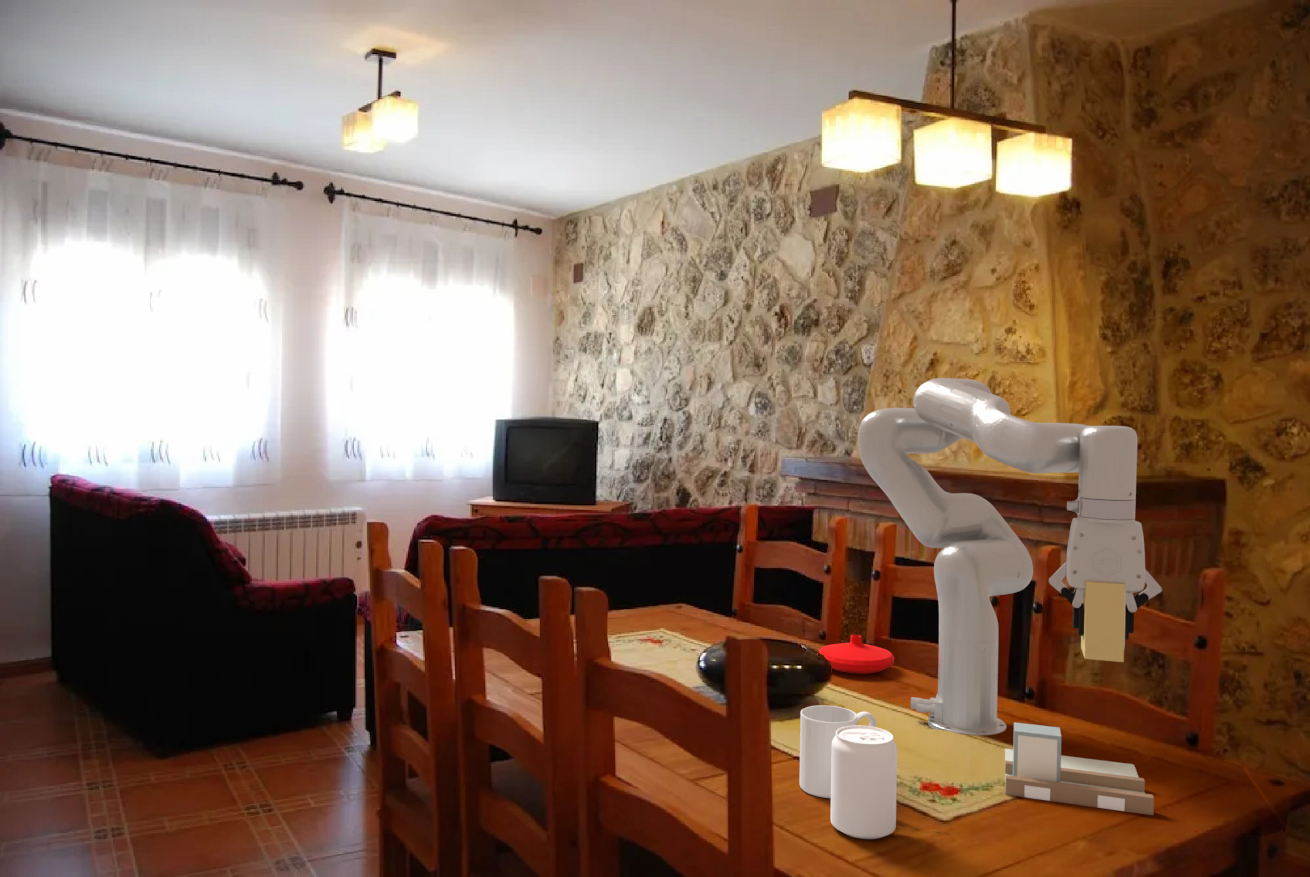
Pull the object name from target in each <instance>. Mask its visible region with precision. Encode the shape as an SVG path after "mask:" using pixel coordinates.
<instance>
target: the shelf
mask: <svg viewBox="0 0 1310 877" xmlns="http://www.w3.org/2000/svg"><path fill="white" fill-rule="evenodd" d="M1004 778H1005V779H1004V782H1005V787H1004V788H1005V792H1004V794H1005V795H1007V796H1013V797H1021V798H1027V799H1034V800H1042V801H1048V802H1057V803H1064V804H1070V805H1077V806H1085V807H1093V808H1099V809H1106V810H1112V811H1121V812H1127V813H1134V814H1142V815H1147V816H1154V812H1155V810H1154V808H1155V802H1154V801H1155V797H1154V795H1153V794H1150V793H1146V792H1145V790H1146V789H1145V787H1146V781H1145V779H1144V778H1143V777H1139V775H1138V772H1137V769H1136V767H1135V764H1133V763H1125V762H1124V763H1123V762H1118V761H1111V760H1110V761H1109V760H1101V759H1093V758H1084V757H1078V756H1077V757H1075V756H1070V755H1063V754H1061V778H1060V782H1054V781H1046V780H1039V779H1032V778H1024V777H1017V776H1013V748H1012V749H1011V748H1004Z"/></svg>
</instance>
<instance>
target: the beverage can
mask: <svg viewBox="0 0 1310 877" xmlns="http://www.w3.org/2000/svg"><path fill="white" fill-rule="evenodd" d="M897 775H898V746H897V744H896V742H895V741H894V735H893V734H892V733H891V732H890V731H888V730H887V729H884V728H880V727H877V726H876V727H872V726H869V725H862V724H861V725H860V724H859V725H858V724H857V725H852V726H845V727H841V728H839V729H838V730H837V731H836V736H835V737H834V738H833V740H832V756H831V798H830V823H831V825H832V826H833V827H834V828H835V829H836V830H838V831H839V832H842V833H843V834H845V835H847V836H849V837H852V838H856V839H861V840H875V839H881V838H883V837H886V836H889V835H891V834H892V833H894V831H895V830H896V826H897V789H898V788H897V785H898V784H897V781H898V779H897V778H898V776H897Z"/></svg>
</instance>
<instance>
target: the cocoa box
mask: <svg viewBox="0 0 1310 877" xmlns="http://www.w3.org/2000/svg"><path fill="white" fill-rule="evenodd" d="M1061 733H1062V732H1061V727H1058V726H1049V725H1041V724H1040V725H1039V724H1033V723H1022V722H1015V721H1014V722H1013V746H1012V747H1013V748H1012V749H1013V776H1017V777H1024V778H1032V779H1039V780H1046V781H1054V782H1060V778H1061V755H1062V734H1061Z"/></svg>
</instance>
